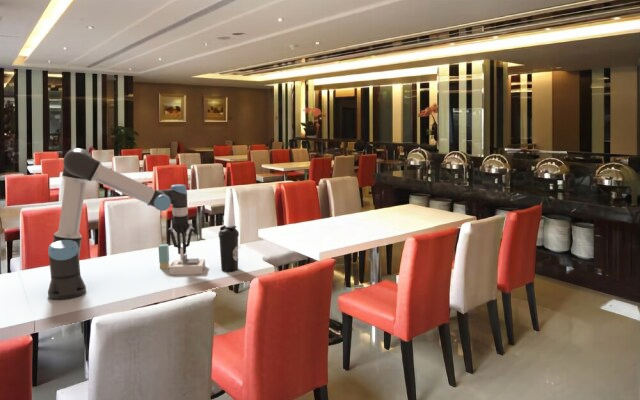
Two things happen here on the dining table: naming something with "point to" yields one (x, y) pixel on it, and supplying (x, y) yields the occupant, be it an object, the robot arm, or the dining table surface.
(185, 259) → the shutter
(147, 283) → the dining table surface
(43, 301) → the dining table surface
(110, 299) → the dining table surface
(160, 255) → the teal block
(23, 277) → the dining table surface
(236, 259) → the water bottle
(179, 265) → the socket block
